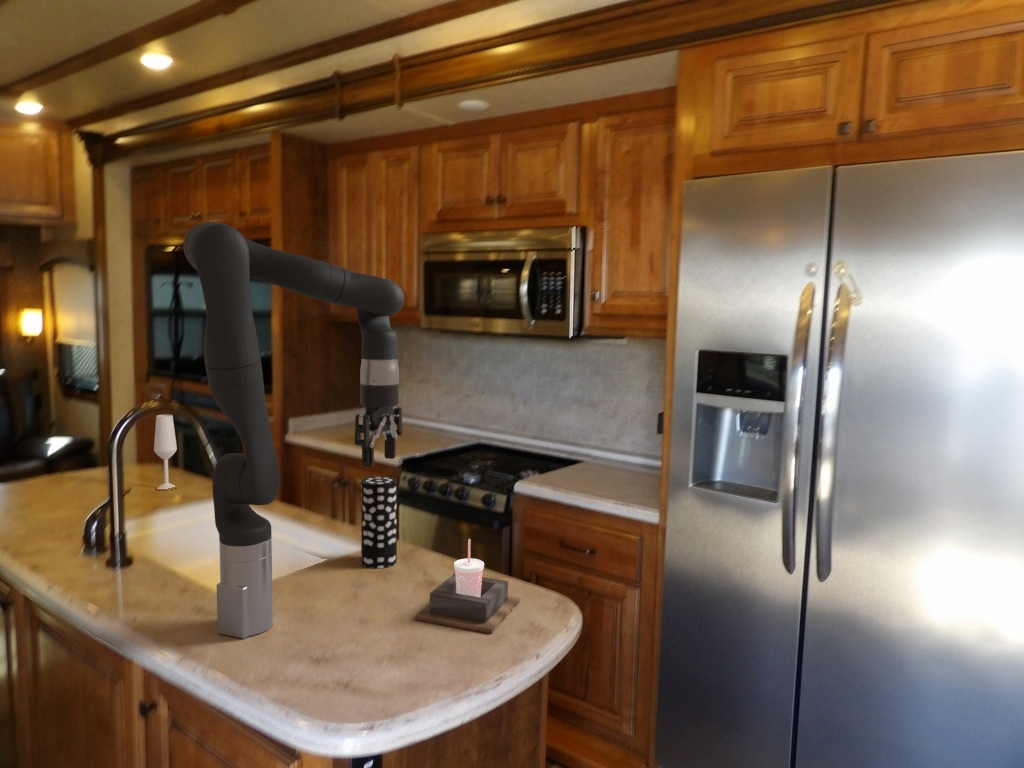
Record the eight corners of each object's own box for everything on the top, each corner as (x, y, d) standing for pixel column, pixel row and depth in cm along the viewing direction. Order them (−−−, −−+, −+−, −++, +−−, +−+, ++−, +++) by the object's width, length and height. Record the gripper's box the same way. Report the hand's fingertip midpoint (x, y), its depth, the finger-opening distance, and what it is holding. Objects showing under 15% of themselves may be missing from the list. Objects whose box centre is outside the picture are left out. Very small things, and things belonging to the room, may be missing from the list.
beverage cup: (449, 602, 149) (450, 536, 148) (478, 598, 151) (479, 533, 150) (458, 614, 143) (459, 545, 142) (487, 610, 146) (488, 542, 144)
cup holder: (491, 634, 137) (492, 608, 137) (415, 619, 143) (416, 595, 142) (520, 602, 152) (520, 579, 152) (450, 590, 158) (450, 568, 157)
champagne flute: (155, 491, 233) (153, 417, 230) (154, 487, 239) (152, 414, 236) (178, 489, 236) (176, 416, 234) (177, 485, 242) (175, 413, 239)
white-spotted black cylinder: (362, 569, 169) (362, 485, 167) (360, 557, 177) (360, 477, 175) (398, 567, 171) (398, 483, 169) (394, 555, 179) (394, 475, 177)
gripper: (377, 386, 136) (377, 471, 138) (413, 379, 149) (412, 457, 151) (343, 383, 139) (343, 467, 140) (381, 377, 152) (381, 454, 154)
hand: (379, 462), depth 146 cm, fingers open, 8 cm apart
